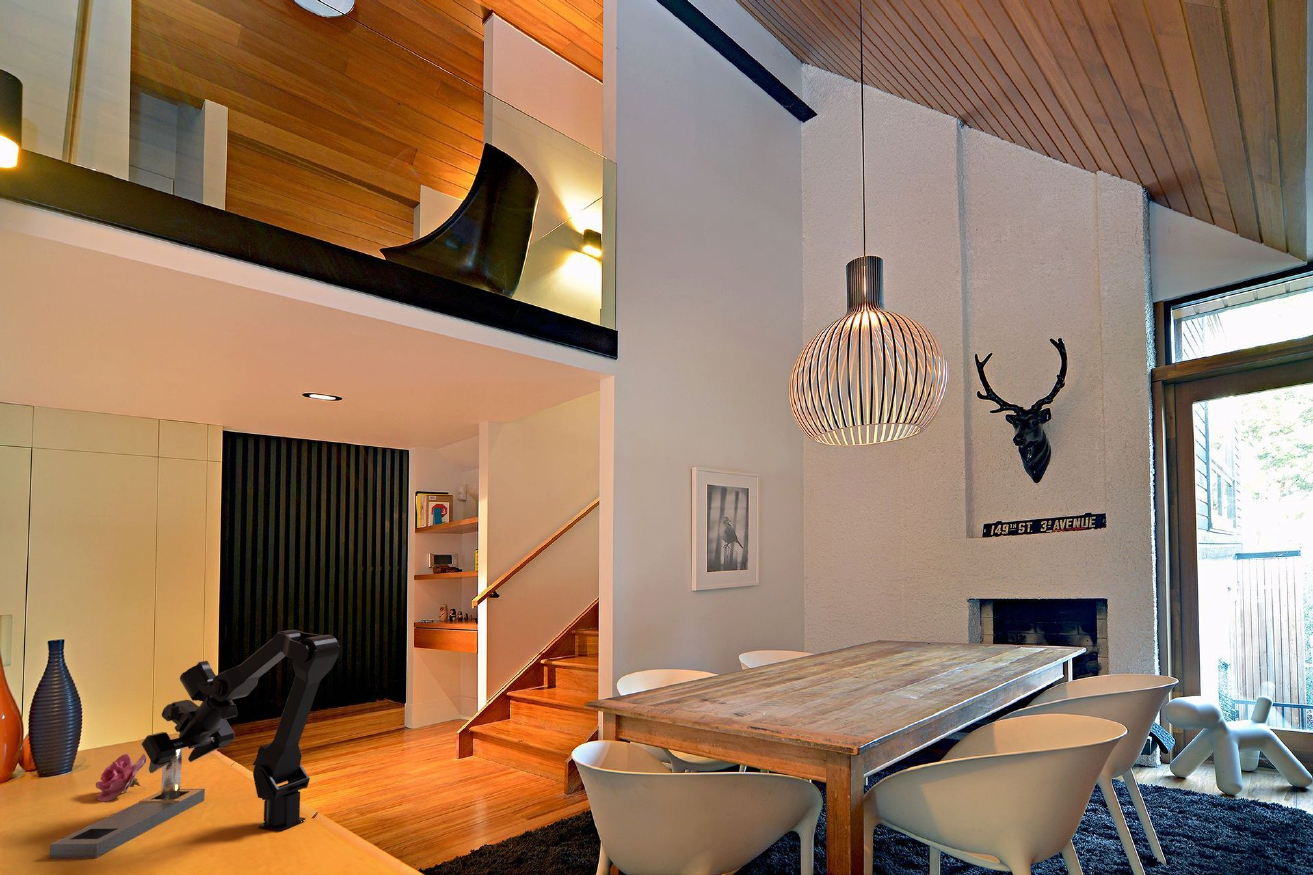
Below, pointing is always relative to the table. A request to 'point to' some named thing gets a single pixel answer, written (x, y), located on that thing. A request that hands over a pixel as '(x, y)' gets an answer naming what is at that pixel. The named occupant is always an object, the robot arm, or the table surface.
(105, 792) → the flower
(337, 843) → the table surface
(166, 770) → the peg
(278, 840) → the table surface
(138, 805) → the rail
